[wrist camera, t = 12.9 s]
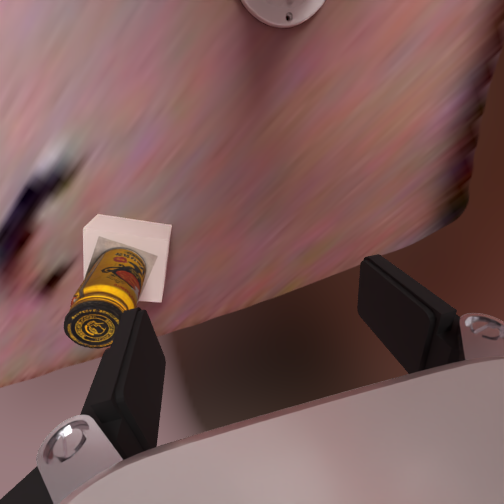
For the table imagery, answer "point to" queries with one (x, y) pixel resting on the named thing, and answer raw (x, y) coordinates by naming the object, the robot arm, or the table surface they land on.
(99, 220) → the cream block
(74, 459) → the robot arm
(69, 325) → the condiment
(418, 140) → the table surface
